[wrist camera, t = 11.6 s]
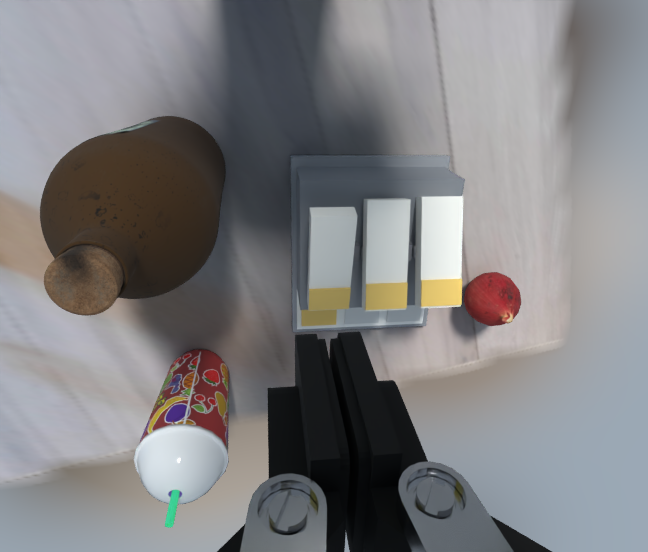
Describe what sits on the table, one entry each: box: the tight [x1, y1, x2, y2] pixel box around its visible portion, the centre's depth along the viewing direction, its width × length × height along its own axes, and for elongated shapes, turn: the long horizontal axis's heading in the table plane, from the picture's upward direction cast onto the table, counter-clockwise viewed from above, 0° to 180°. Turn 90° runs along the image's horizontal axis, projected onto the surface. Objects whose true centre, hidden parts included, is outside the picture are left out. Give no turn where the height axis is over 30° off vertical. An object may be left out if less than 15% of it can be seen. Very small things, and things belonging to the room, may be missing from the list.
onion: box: [464, 272, 521, 326], centre depth 49 cm, size 6×6×8 cm
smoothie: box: [134, 349, 229, 527], centre depth 44 cm, size 8×8×20 cm
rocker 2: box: [360, 198, 411, 311], centre depth 40 cm, size 10×4×3 cm, turn 179°
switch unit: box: [291, 155, 465, 332], centre depth 45 cm, size 20×16×7 cm
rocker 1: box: [307, 207, 357, 311], centre depth 40 cm, size 10×4×3 cm, turn 178°
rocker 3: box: [412, 196, 463, 308], centre depth 41 cm, size 10×4×3 cm, turn 179°
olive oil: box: [40, 116, 225, 315], centre depth 31 cm, size 11×11×25 cm
